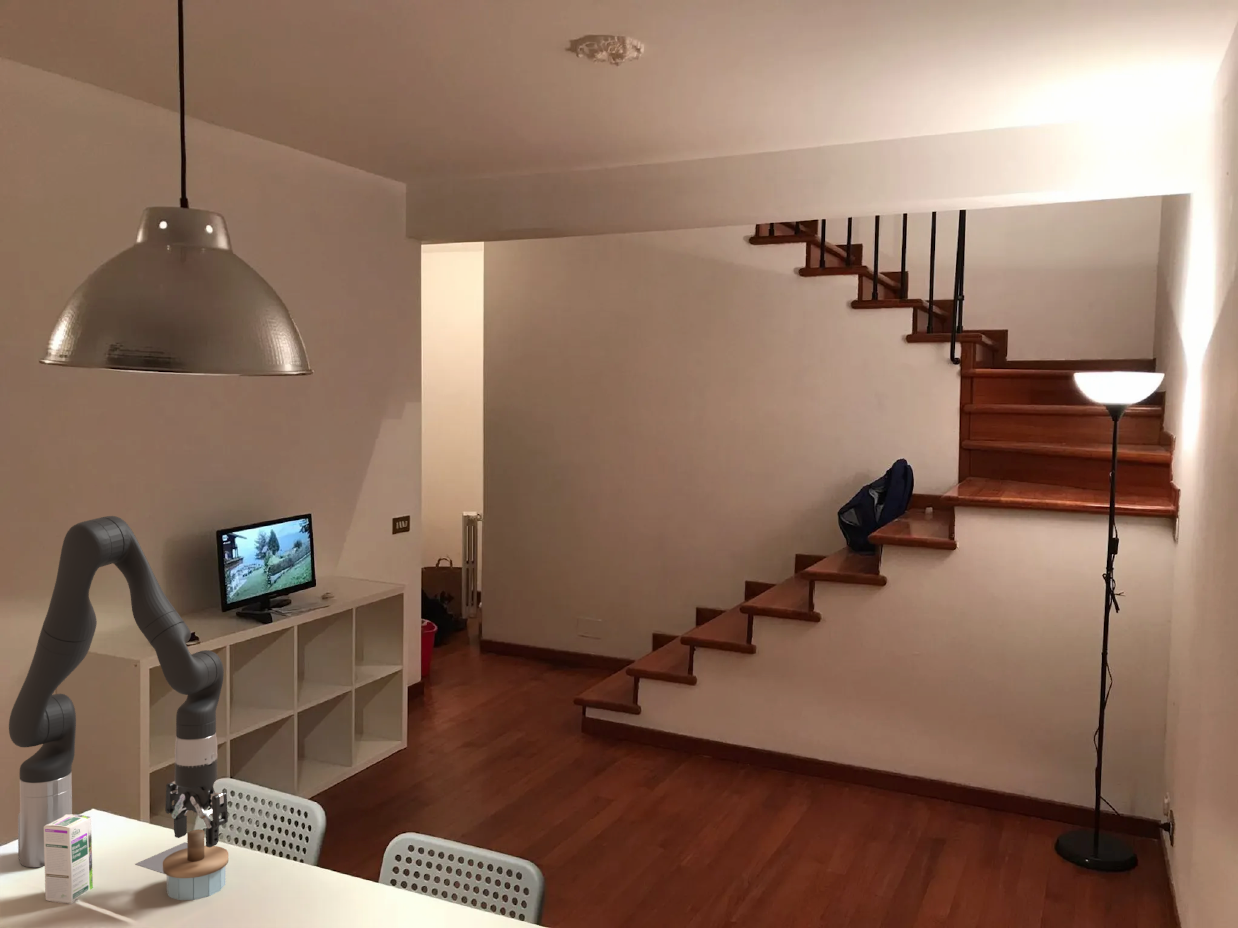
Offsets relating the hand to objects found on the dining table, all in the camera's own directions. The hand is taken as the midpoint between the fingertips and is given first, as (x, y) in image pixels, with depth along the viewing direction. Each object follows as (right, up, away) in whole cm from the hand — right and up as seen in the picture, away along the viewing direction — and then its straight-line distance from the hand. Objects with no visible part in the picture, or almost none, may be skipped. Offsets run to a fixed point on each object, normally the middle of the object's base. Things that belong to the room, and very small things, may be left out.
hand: (196, 840), depth 192 cm
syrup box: (-23, -10, -3) cm, 25 cm away
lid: (0, -6, 0) cm, 6 cm away
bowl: (0, -10, 0) cm, 10 cm away
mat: (-8, -9, +12) cm, 17 cm away
